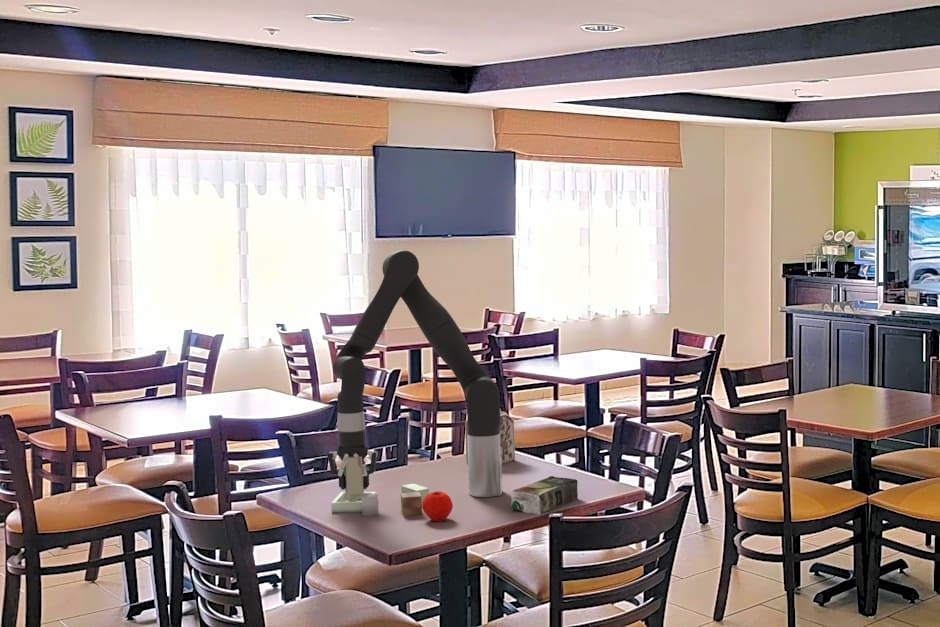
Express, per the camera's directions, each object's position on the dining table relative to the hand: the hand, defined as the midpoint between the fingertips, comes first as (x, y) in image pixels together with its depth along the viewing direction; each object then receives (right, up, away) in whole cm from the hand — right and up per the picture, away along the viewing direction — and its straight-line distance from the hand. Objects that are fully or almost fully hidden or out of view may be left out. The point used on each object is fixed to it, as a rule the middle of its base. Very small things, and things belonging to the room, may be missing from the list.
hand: (354, 488), depth 290 cm
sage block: (+17, -4, +5) cm, 18 cm away
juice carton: (+52, -4, -4) cm, 52 cm away
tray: (0, -5, 0) cm, 5 cm away
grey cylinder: (+5, -5, -8) cm, 11 cm away
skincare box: (0, -3, 0) cm, 3 cm away
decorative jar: (+39, 0, +51) cm, 64 cm away
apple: (+24, -6, -16) cm, 29 cm away
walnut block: (+16, -5, -8) cm, 19 cm away
